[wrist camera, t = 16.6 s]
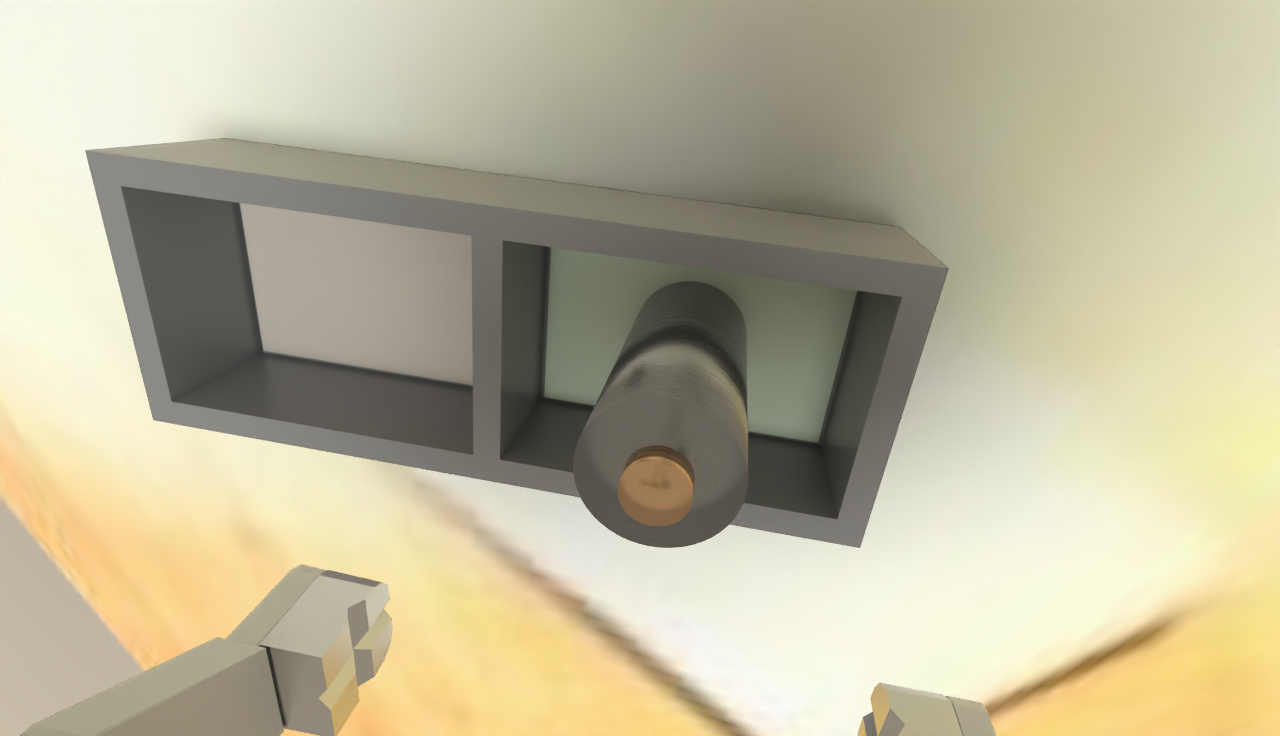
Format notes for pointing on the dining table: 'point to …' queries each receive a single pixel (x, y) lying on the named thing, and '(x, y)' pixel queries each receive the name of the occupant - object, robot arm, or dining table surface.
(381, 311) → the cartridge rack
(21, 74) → the dining table surface
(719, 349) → the metal cell
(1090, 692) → the dining table surface
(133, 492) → the dining table surface
